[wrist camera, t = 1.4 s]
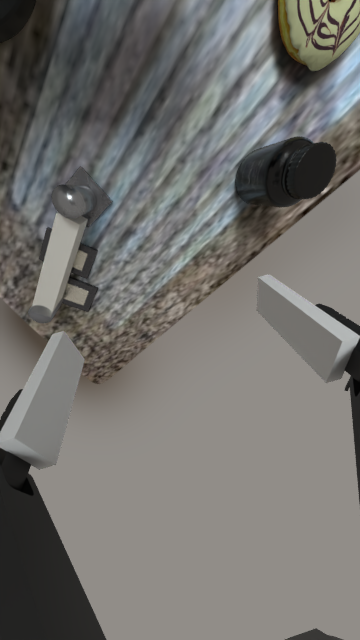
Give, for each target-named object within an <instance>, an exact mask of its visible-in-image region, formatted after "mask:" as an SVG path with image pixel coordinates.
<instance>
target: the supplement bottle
mask: <svg viewBox="0 0 360 640" xmlns="http://www.w3.org/2000/svg"><path fill="white" fill-rule="evenodd" d="M335 167H336V154H335V150H333V147H332V146H331V145H330V144H327V143H323V142H319V143H313V142H312V141H311V140H310V139H308V138H306V137H294V138H290V139H287V140H284V141H281V142H278V143H275V144H272V145H269V146H266V147H263V148H260V149H257V150H255V151H253V152H251V153H250V154H249V155H247V156H246V158H245V159H244V160H243V161H242V163H241V165H240V167H239V169H238V172H237V176H236V188H237V192H238V194H239V196H240V198H241V199H242V200H243V201H244V202H246V203H249V204H253V205H263V206H272V207H289V206H292V205H294V204H296V203H297V202H299V201H300V200H302V199H309V198H313V197H316V196H317V195H318V194H320V193H321V192H322V191H323V190H324V189H325V188H326V187H327V185H328V183H329V182H330V180H331V178H332V177H333V173H334V171H335Z"/></svg>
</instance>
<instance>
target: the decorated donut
mask: <svg viewBox="0 0 360 640" xmlns="http://www.w3.org/2000/svg"><path fill="white" fill-rule="evenodd" d="M278 18H279V28H280V33H281V38H282V41H283V44H284V46H285V48H286V50H287V52H288V54H289V55H290V56H291V57H292V58H293V59H294V60H296V61H297V62H299V63H301V64H304V65H306V66H308V68H309V69H310V70H311V71H317V70H320V69H322V68H324V67H325V66H327V65H328V64H329V63H331V62H332V61H333V60H335V59H337V58H338V57H339V56H340V55H341V54H342V53H343V52H344V51H345V50H346V49H347V48H348V47H349V46H350V45H351V43H352V42H353V41H354V40H355V39H356V37H357V36H358V34H359V33H360V0H332V1H331V2H329V0H278Z"/></svg>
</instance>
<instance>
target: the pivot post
mask: <svg viewBox="0 0 360 640" xmlns="http://www.w3.org/2000/svg"><path fill="white" fill-rule="evenodd" d="M52 202H53V205H54V207H55V209H56V210H57V211H58V212H59V213H60V214H61V215H63V216H64V217H66V218H70V219H75V218H78V217H80V216H83V217H84V218H86V219H88V221H87V224H86V225H87V226H88V227H90V226H91V224H92V223H93V222H94V221H95V220H96V219H97V218H98V217H99V216H100V215H101V214H102V212H103V211H104V210H105V209H106V208H107V207H108V206H109V205H110V204H111V203H112V202H113V201H112V200H111V199H110V198H109V197H108V196H107V195H106V193H105V192H104V191H103V190H102V189H101V188H100V187H99V186H98V185H97V183H96V182H95V181H94V180H93V179H92V178H91V177H90V176H89V175H88V173H87V172H86V171H85V170H84V169H83V168H82V167H80V168H79V169H78V170H77V171H76V173H75V174H74V175H73V176H72V177H71V179H70V180H69V181H68V182H67V183H66V185H59V186H57V187H56V188H55V189H54V190H53V193H52Z"/></svg>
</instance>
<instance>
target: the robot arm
mask: <svg viewBox="0 0 360 640" xmlns="http://www.w3.org/2000/svg"><path fill="white" fill-rule="evenodd" d="M35 2H36V0H0V42H3V41H6V40H8V39H10V38H11V37H13V36H14V35H16V34H17V33H18V32H19V31H20V30H21V29H22V28H23V27H24V25H25V24H26V22H27V21H28V19H29V17H30V15H31V13H32V10H33V8H34V5H35ZM257 311H258V312H259V314H260V315H262V317H263V318H264V319H265V320H266V321H267V322H268V323H269V324H270V325H271V326H272V327H273V328H274V329H275V330H276V331H277V332H278V333H279V334H280V335H281V337H282V338H283V339H284V340H285V341H286V342H287V343H288V344H289V345H290V346H291V347H292V348H293V349H294V350H295V351H296V352H297V353H298V354H299V355H300V356H301V357H302V358H303V359H304V360H305V362H307V364H308V365H309V366H311V368H312V369H313V370H314V371H315V372H316V373H317V374H318V375H319V376H320V377H321V378H322V379H323V380H324V381H325V382H326V383H328V382H331V381H334V380H338V379H341V378H342V375H343V373H344V371H346V372H348V373H349V374H350V375H351V377H350V379H349V381H348V383H347V385H346V387H345V391H348V389H349V387H350V395H351V407H352V419H353V430H354V442H355V454H356V466H357V478H358V490H359V502H360V326H359V325H357V324H355V323H354V322H352V321H351V320H349V319H346V317H345V316H343V315H341V314H339V313H338V312H337V311H335V310H334V309H332V308H330V307H327V306H325V305H322V304H317V305H313V304H312V303H310V302H309V301H308V300H306V299H305V298H303V297H301V296H300V295H299V294H297V293H296V292H294V291H293V290H291V289H290V288H288V287H287V286H286V285H284V284H283V283H281V282H280V281H278V280H277V279H275V278H274V277H272V276H271V275H269V274H268V275H264V276H261V277H258V292H257ZM84 361H85V359H84V358H83V356H82V355H81V353H80V352H79V351H78V349H77V348H76V346H75V345H74V344H73V342H72V341H71V339H70V338H69V337H68V335H67V334H66V332H65V331H62V332H58V333H54V334H52V336H51V338H50V340H49V342H48V343H47V345H46V348H45V349H44V351H43V353H42V355H41V357H40V359H39V360H38V362H37V364H36V366H35V368H34V370H33V372H32V374H31V375H30V377H29V379H28V381H27V383H26V385H25V387H24V389H21V390H19V391H18V392H17V393H16V394H15V396H14V397H13V398H12V399H11V400H10V402H9V404H8V406H7V408H6V411H5V412H4V413H3V415H2V416H1V420H0V640H106V638H105V636H104V634H103V631H102V629H101V627H100V625H99V622H98V620H97V618H96V616H95V614H94V611H93V609H92V607H91V605H90V603H89V600H88V598H87V596H86V594H85V592H84V589H83V588H82V585H81V583H80V581H79V578H78V576H77V574H76V572H75V570H74V567H73V565H72V563H71V561H70V559H69V556H68V554H67V552H66V550H65V548H64V545H63V544H62V541H61V539H60V537H59V535H58V532H57V530H56V528H55V526H54V523H53V521H52V519H51V517H50V515H49V512H48V510H47V508H46V506H45V504H44V501H43V499H42V497H41V495H40V493H39V491H38V488H37V486H36V484H35V482H34V480H33V478H32V476H31V475H30V474H28V472H29V469H30V466H31V465H32V466H34V467H36V468H37V469H39V470H40V469H43V468H46V467H49V466H52V465H56V463H57V459H58V455H59V451H60V447H61V444H62V441H63V437H64V433H65V430H66V426H67V423H68V419H69V415H70V412H71V408H72V404H73V401H74V397H75V393H76V390H77V386H78V382H79V379H80V375H81V372H82V368H83V364H84ZM285 640H342V639H340V638H337V637H334V636H329V635H326V634H324V633H323V632H321V631H320V630H318V629H313V630H311V631H308V632H305V633H302V634H299V635H296V636H293V637H290V638H288V639H285Z"/></svg>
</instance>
